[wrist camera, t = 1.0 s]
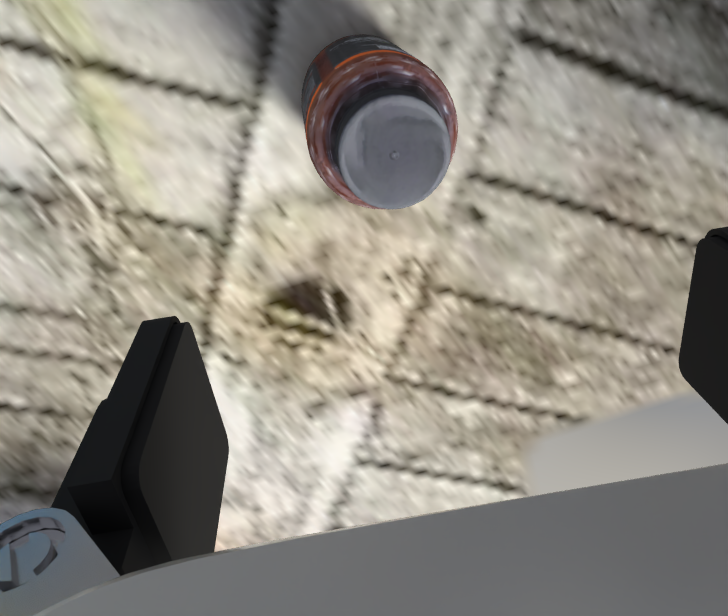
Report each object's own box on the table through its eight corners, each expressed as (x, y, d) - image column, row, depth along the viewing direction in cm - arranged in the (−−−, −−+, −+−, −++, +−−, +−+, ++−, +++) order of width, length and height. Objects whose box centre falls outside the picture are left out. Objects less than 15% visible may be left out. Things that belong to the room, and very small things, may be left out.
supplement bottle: (325, 171, 32) (339, 259, 22) (283, 57, 29) (277, 100, 19) (431, 132, 31) (494, 205, 22) (399, 14, 29) (455, 35, 19)
